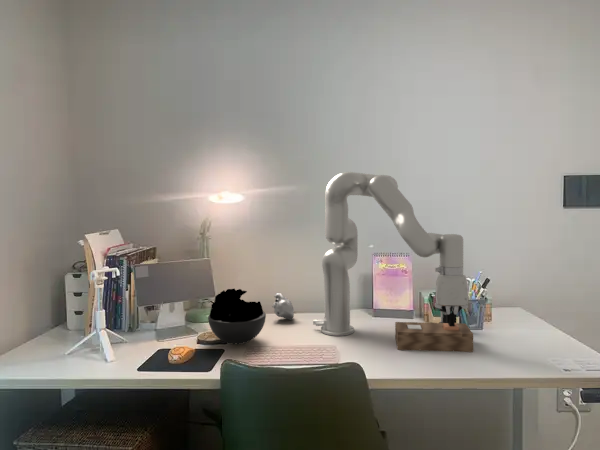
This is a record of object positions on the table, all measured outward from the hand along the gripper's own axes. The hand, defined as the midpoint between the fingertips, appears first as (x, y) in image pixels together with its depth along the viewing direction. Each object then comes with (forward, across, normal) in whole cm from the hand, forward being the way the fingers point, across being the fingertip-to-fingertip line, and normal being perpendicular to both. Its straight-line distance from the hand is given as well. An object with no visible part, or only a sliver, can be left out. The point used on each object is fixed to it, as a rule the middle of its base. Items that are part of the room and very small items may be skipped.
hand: (451, 325), depth 157 cm
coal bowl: (+7, -73, -4) cm, 74 cm away
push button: (+7, +2, +18) cm, 20 cm away
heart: (+7, -61, +25) cm, 67 cm away
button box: (+7, -6, 0) cm, 9 cm away
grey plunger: (+7, -12, 0) cm, 14 cm away
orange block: (+6, 0, 0) cm, 6 cm away
